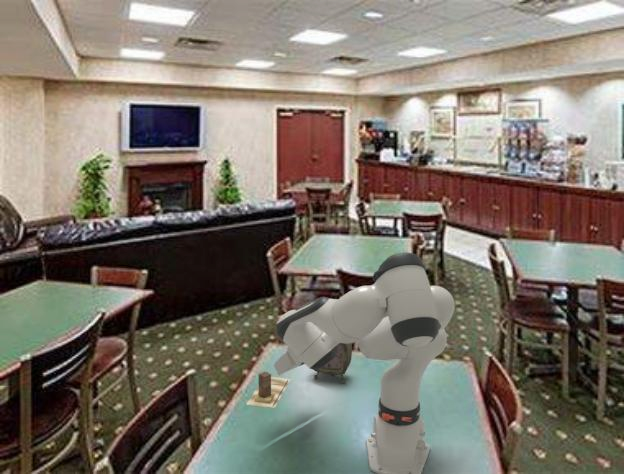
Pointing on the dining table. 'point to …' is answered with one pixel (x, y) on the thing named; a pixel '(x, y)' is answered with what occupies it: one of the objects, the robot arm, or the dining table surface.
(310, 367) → the robot arm
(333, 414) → the dining table surface
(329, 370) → the tabletop clock
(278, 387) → the plywood board
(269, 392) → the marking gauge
